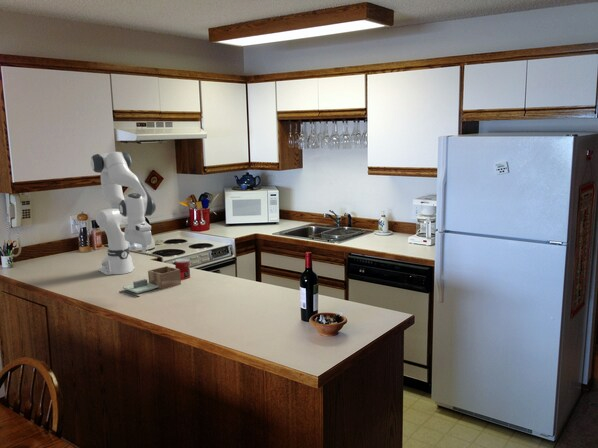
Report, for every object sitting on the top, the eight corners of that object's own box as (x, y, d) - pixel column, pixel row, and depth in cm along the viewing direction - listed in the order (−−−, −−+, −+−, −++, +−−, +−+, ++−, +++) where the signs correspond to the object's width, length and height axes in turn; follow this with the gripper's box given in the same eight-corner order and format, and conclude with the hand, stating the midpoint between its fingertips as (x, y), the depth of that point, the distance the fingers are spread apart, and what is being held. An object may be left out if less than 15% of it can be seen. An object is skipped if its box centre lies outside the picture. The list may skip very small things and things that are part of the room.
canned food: (187, 281, 304) (186, 261, 302) (173, 280, 306) (172, 261, 304) (192, 277, 312) (191, 258, 310) (179, 276, 313) (178, 258, 311)
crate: (149, 286, 295) (148, 270, 293) (167, 281, 304) (166, 266, 302) (162, 290, 287) (161, 274, 285) (181, 285, 296) (180, 269, 294)
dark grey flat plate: (119, 291, 287) (119, 291, 287) (145, 284, 299) (145, 284, 299) (136, 297, 276) (136, 297, 276) (162, 290, 288) (162, 289, 288)
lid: (123, 291, 287) (122, 281, 286) (144, 285, 297) (143, 276, 296) (137, 295, 279) (136, 285, 278) (158, 289, 288) (158, 280, 287)
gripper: (120, 223, 287) (122, 249, 289) (142, 228, 273) (144, 255, 276) (131, 222, 291) (132, 247, 294) (153, 226, 278) (154, 253, 280)
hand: (138, 251), depth 285 cm, fingers open, 8 cm apart
